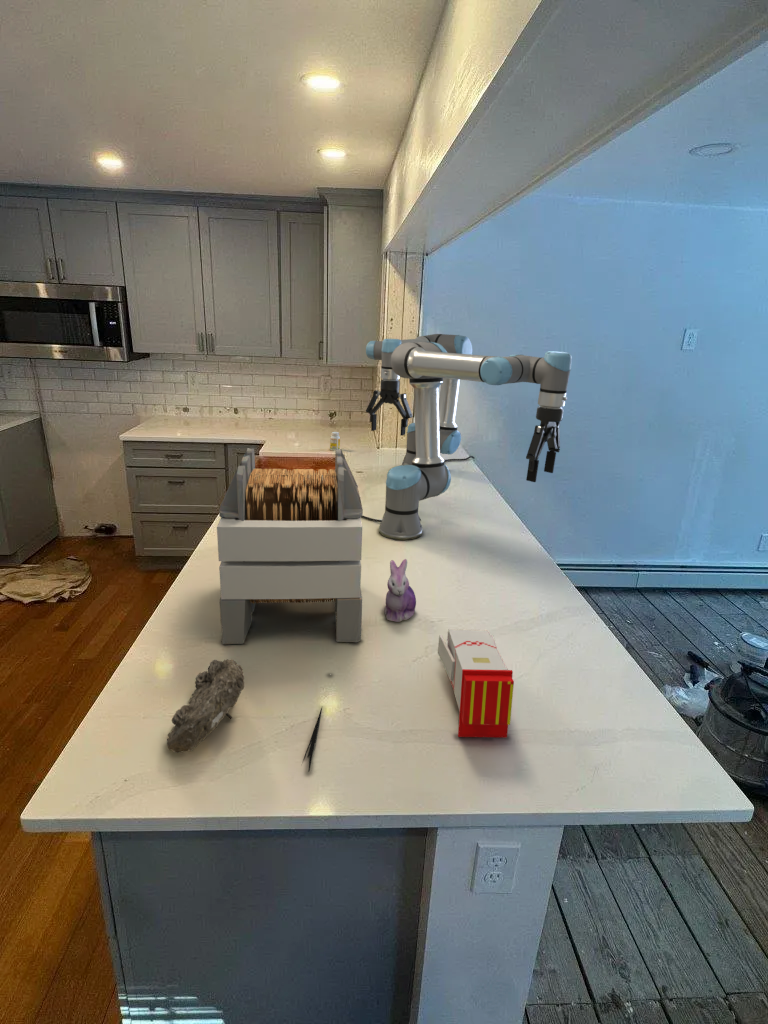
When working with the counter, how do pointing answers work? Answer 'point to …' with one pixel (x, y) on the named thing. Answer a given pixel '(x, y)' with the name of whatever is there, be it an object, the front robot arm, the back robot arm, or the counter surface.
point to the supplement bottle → (334, 441)
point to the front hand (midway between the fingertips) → (539, 476)
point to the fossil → (206, 705)
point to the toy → (478, 682)
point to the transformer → (290, 544)
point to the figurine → (399, 594)
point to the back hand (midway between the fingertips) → (388, 432)
